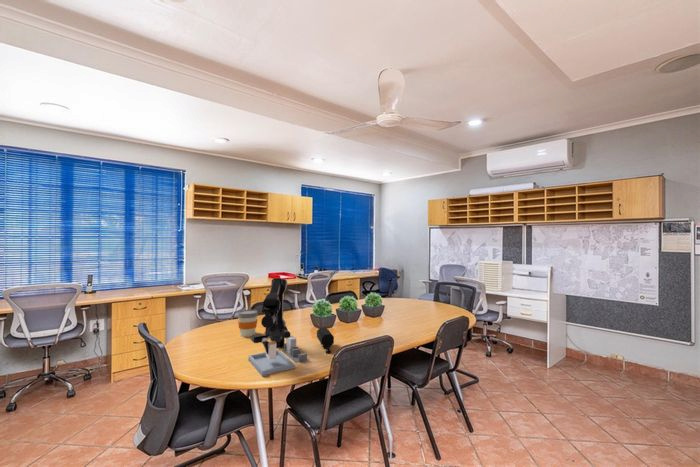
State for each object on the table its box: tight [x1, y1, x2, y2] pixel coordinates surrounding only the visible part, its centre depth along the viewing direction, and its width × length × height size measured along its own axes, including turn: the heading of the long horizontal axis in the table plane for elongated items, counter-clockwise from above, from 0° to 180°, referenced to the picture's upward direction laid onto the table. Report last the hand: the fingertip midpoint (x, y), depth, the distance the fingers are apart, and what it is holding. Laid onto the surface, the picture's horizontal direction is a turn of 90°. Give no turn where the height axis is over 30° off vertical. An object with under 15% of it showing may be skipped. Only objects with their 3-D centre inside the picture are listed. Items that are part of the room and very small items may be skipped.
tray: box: [248, 349, 296, 377], centre depth 163 cm, size 23×16×2 cm
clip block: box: [280, 342, 310, 364], centre depth 175 cm, size 21×8×4 cm, turn 32°
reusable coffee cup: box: [237, 309, 259, 338], centre depth 211 cm, size 13×13×15 cm
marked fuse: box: [266, 338, 277, 360], centre depth 163 cm, size 6×3×8 cm, turn 32°
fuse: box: [285, 335, 297, 353], centre depth 180 cm, size 6×3×8 cm, turn 32°
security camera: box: [316, 326, 335, 354], centre depth 187 cm, size 7×18×10 cm, turn 16°
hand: (270, 353), depth 163 cm, fingers closed on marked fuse, 3 cm apart
